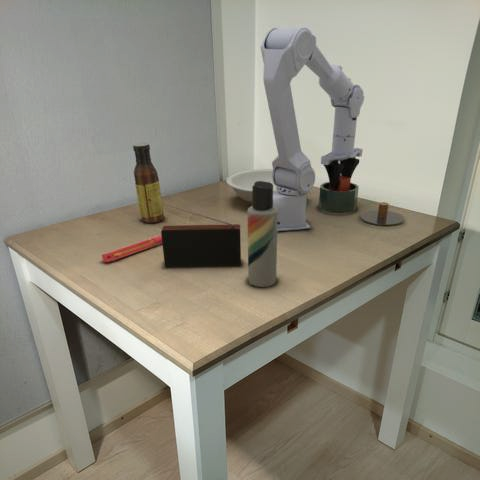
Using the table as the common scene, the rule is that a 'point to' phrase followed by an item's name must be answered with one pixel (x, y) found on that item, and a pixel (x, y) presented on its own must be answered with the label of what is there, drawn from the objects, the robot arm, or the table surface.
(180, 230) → the radio
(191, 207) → the table surface
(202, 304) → the table surface
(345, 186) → the block
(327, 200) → the pot
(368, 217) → the lid
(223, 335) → the table surface
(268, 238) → the lotion bottle
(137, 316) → the table surface
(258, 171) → the soup bowl
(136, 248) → the long red bar
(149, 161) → the sauce bottle
